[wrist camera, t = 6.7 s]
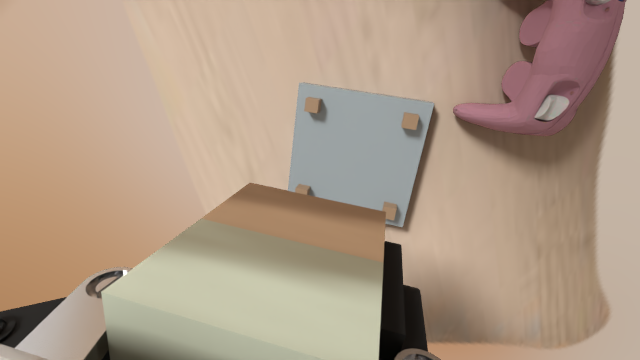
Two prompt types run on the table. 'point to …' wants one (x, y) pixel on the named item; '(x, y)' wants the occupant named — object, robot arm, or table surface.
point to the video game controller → (552, 67)
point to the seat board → (358, 147)
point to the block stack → (256, 285)
